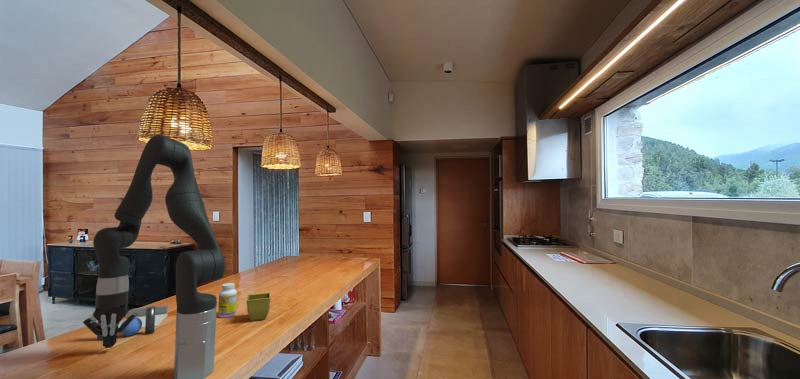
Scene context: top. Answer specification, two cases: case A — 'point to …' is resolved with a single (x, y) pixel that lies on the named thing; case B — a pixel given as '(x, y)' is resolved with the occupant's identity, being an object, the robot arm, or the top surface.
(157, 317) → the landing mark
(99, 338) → the left post
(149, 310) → the right post
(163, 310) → the stopper wall
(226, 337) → the top surface
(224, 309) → the supplement bottle
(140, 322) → the ball
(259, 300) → the flower pot
